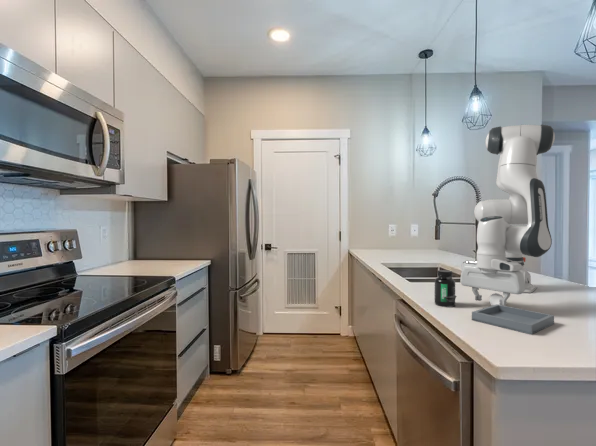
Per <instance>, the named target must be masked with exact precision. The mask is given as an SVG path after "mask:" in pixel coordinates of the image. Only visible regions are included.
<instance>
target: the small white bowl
mask: <svg viewBox="0 0 596 446" xmlns="http://www.w3.org/2000/svg"><path fill="white" fill-rule="evenodd" d="M488 298H489V299H488V300H489V303H490V306H493V305H496V304H498V305H500V304H499V303H500V302H499V300H500V299H503V298H504V295H503V294H500V293H491V294H490V296H489V297H488ZM503 306H504V305H503Z"/></svg>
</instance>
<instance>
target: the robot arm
mask: <svg viewBox="0 0 596 446" xmlns="http://www.w3.org/2000/svg"><path fill="white" fill-rule="evenodd" d="M555 134H556V133H555V132H554V127H552V126H551V125H547V124H520V125H519V124H518V125H507V126H501V125H500V126H496V127H493V128H491V129H490V130H489V132H488V133H487V134H486V138H485V142H484V143H485V147H486V149H487V152H489V153H490V154H493V155H499V154H500V155H499V159H498V163H497V172H496V173H497V174H496V181H495V185H496V186H497V188H498V189H499V190H500V191H502V192H505V193H508V194H509V197H508V198H504V199H503V198H501V199H500V198H499V199H498V198H497V199H496V198H494V199H493V198H490V199H486V200H479V201H478V202H477V204H476V205H475V206H474V211H473V214H474V218H475V219H476V221H477V223H478V224H477V228H476V244H477V249H476V261H474V260H465V261H463V262H461V273H460V280H459V282H460V284H461V286H464V287H468V288H469V287H470V288H471V291H472V292H473V294H474V296H475V297H474V300H475V301H482V300H483V299H482V297H483V296H482V295H481V294H480V293H479V290H480V289H482V290H489V291H494V292H499V293H502V296H503V297H504V298H503V299H500V300H499V302H500V303H499V304H500V305H504V306H507V300H508V299H509V298H510V296H511V294H512V295H513V294H514V295H522V294H523V293H530V294H531V293H532V292H534V291H535V290H536V289H537V288H538V286H537V285H536V284H533V283H532V281H531V280H532V278H531V273H530V272H529V271H528V270H527V269H526V267H525V263H526V261H527V259H526V257H525V256H528V257H532V258H533V257H534V258H539V257H541V256H543V255H545V254H546V253H548V252H549V250H550V249H551V247H552V244H553V243H552V241H553V239H552V235H551V232H550V227H549V218H548V206H547V205H548V204H547V195H546V187H545V185H544V182H543V181H542V180H541V179H539V177H538V175H537V159H538V158H537V156H538V155H540V154H544V153H548V152H549V151H550V150H551V149H552V147H553V146H554V143H555V139H556V135H555ZM517 225H519V226H517ZM522 225H523V226H522ZM524 225H526V226H524ZM523 255H524V257H523Z"/></svg>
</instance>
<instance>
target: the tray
mask: <svg viewBox="0 0 596 446" xmlns="http://www.w3.org/2000/svg"><path fill="white" fill-rule="evenodd" d="M471 321H474V322H477V323H482V324H487V325H491V326H495V327H499V328H503V329H507V330H511V331H516V332H518V333H519V332H520V333H525V334H527V335H534V334H536V333H537V332H540V331H543V330H544V329H547V328H548V327H551V326H553V325H554V324H555V315H554V314H549V313H544V312H538V311H533V310H528V309H524V308H519V307H518V308H517V307H512V306H508V305H505V306H503V305H498V304H496V305H493V306H492V305H490V306H488V307H483V308H480V309H476V310H474V311H471Z"/></svg>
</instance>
